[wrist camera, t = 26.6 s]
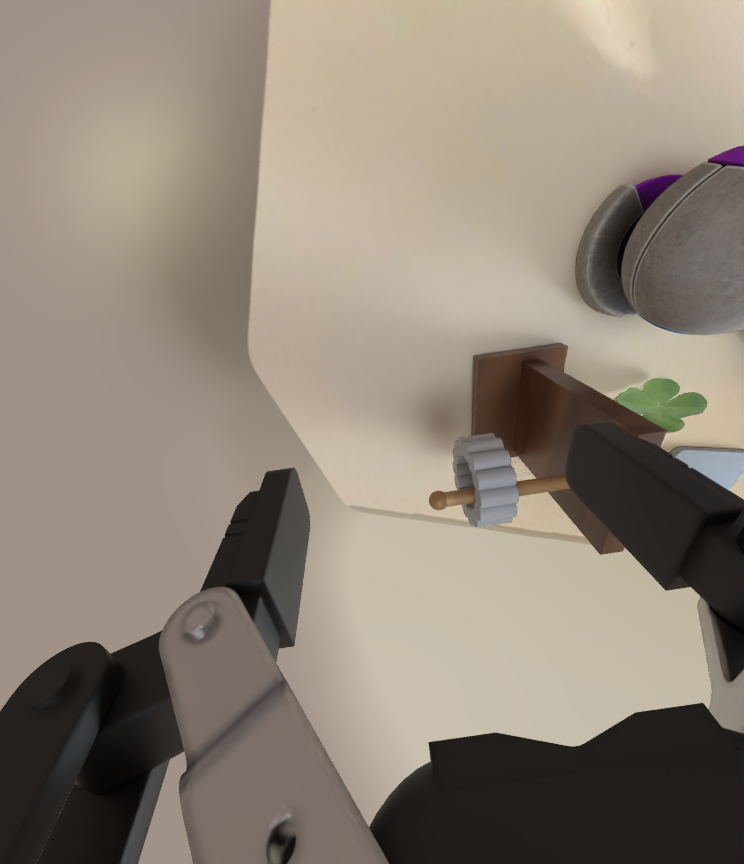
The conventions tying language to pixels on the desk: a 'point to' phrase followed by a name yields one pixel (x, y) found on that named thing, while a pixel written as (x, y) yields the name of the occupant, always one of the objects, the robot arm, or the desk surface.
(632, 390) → the seedling
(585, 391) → the rack
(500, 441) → the grey scalloped ring
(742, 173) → the webcam
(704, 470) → the shower valve
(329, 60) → the desk surface
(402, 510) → the desk surface
